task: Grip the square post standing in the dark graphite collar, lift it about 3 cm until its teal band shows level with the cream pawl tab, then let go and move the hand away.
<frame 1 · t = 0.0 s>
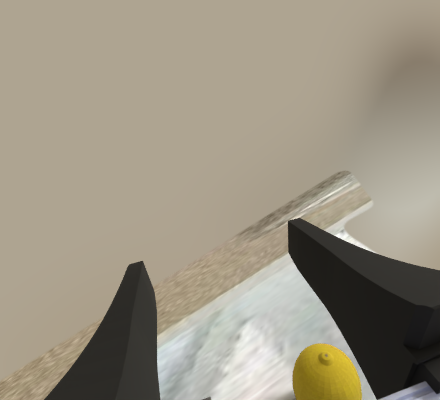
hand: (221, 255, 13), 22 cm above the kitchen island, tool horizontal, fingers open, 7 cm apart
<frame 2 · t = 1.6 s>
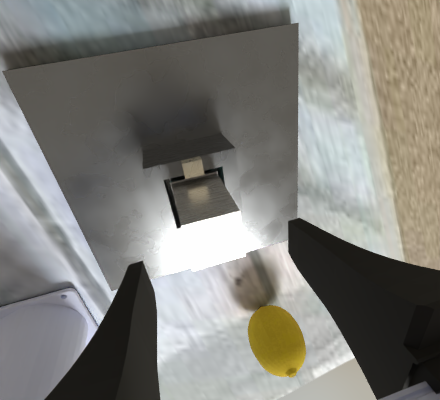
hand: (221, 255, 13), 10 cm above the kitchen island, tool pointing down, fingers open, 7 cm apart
lemon: (260, 306, 33), on the kitchen island
post: (201, 204, 18), point 5 cm above the kitchen island, slide at 0.0 cm
stand base: (188, 172, 22), on the kitchen island
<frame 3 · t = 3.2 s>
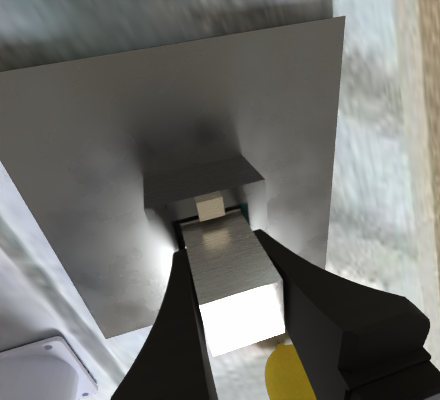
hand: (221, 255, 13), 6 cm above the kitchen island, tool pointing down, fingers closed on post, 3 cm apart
lemon: (277, 342, 29), on the kitchen island
post: (219, 252, 14), point 5 cm above the kitchen island, slide at 0.0 cm, touching gripper
stand base: (199, 200, 18), on the kitchen island
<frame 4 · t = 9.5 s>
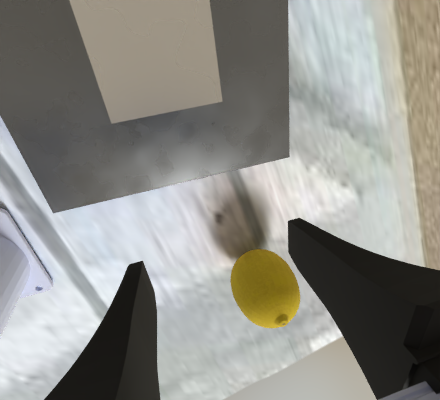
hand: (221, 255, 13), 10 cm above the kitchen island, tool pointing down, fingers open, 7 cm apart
lemon: (247, 254, 28), on the kitchen island
post: (149, 48, 10), point 8 cm above the kitchen island, slide at 2.9 cm
stand base: (145, 47, 17), on the kitchen island
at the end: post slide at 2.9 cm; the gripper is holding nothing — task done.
